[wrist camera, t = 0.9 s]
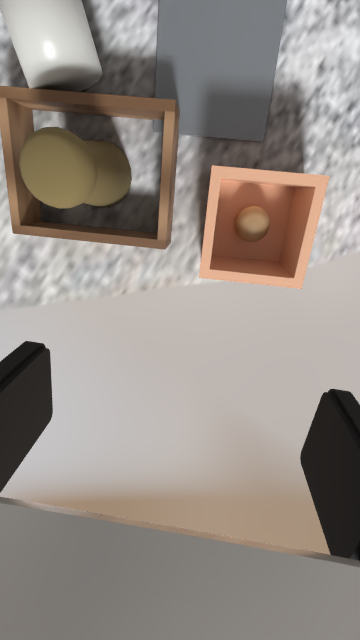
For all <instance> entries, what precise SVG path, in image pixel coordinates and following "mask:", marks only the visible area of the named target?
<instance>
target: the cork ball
mask: <svg viewBox="0 0 360 640" xmlns="http://www.w3.org/2000/svg"><path fill="white" fill-rule="evenodd" d="M269 227H270V219H269V216H268V214H267V212H266V211H265V210H264V209H262V208H260V207H257V206H250V207H247V208H245V209H243V210H242V211H241V212H240V213H239V214H238V215H237V217H236V220H235V231H236V233H237V235H238V236H239V237H240V238H241V239H242V240H244V241H247V242H256V241H258V240H260V239H262V238H263V237H264V236H265V235H266V234H267V232H268V230H269Z"/></svg>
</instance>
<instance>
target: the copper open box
mask: <svg viewBox="0 0 360 640" xmlns="http://www.w3.org/2000/svg"><path fill="white" fill-rule="evenodd" d="M329 177H330V176H324V175H313V174H302V173H291V172H280V171H269V170H258V169H247V168H236V167H225V166H214V165H212V168H211V177H210V186H209V195H208V204H207V212H206V221H205V230H204V239H203V247H202V256H201V265H200V274H199V278H207V279H216V280H225V281H235V282H244V283H253V284H262V285H272V286H281V287H290V288H299V289H302V285H303V281H304V277H305V273H306V269H307V265H308V261H309V257H310V253H311V249H312V245H313V241H314V237H315V233H316V229H317V225H318V221H319V217H320V213H321V209H322V205H323V201H324V197H325V193H326V189H327V185H328V181H329ZM250 206H257V207H260V208H262V209H264V210H265V211H266V212H267V214H268V216H269V219H270V227H269V230H268V232H267V234H266V235H265V236H264V237H263V238H262V239H260V240H258V241H256V242H247V241H244V240H242V239H241V238H240V237H239V236H238V235H237V233H236V231H235V220H236V217H237V215H238V214H239V213H240V212H241V211H242V210H243V209H245V208H247V207H250Z"/></svg>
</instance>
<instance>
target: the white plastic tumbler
mask: <svg viewBox="0 0 360 640" xmlns="http://www.w3.org/2000/svg"><path fill="white" fill-rule="evenodd" d="M0 10H1V13H2V15H3V18H4V21H5V24H6V26H7V29H8V32H9V34H10V37H11V40H12V43H13V45H14V48H15V51H16V53H17V56H18V59H19V62H20V64H21V67H22V70H23V73H24V75H25V78H26V81H27V83H28V86H29V89H31V88H34V89H46V90H59V91H71V92H80V91H83V90H85V89H87V88H89V87H91V86H93V85H94V84H95V83H97V82H98V81H99V80H100V78H101V77H102V68H101V65H100V62H99V58H98V55H97V51H96V48H95V44H94V41H93V38H92V34H91V31H90V27H89V24H88V21H87V17H86V14H85V10H84V7H83V3H82V0H0Z"/></svg>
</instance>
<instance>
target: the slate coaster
mask: <svg viewBox="0 0 360 640" xmlns="http://www.w3.org/2000/svg"><path fill="white" fill-rule="evenodd" d="M286 4H287V0H159V15H158V37H157V59H156V80H155V98H158V99H170V100H176V102H177V105H178V107H179V110H180V116H179V129H178V134H179V135H189V136H201V137H213V138H224V139H236V140H247V141H259V142H263V141H264V136H265V130H266V124H267V118H268V112H269V106H270V100H271V94H272V88H273V82H274V76H275V70H276V64H277V58H278V52H279V46H280V40H281V34H282V28H283V22H284V16H285V10H286ZM153 132H155V133H164V120H161V119H154V123H153Z"/></svg>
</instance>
